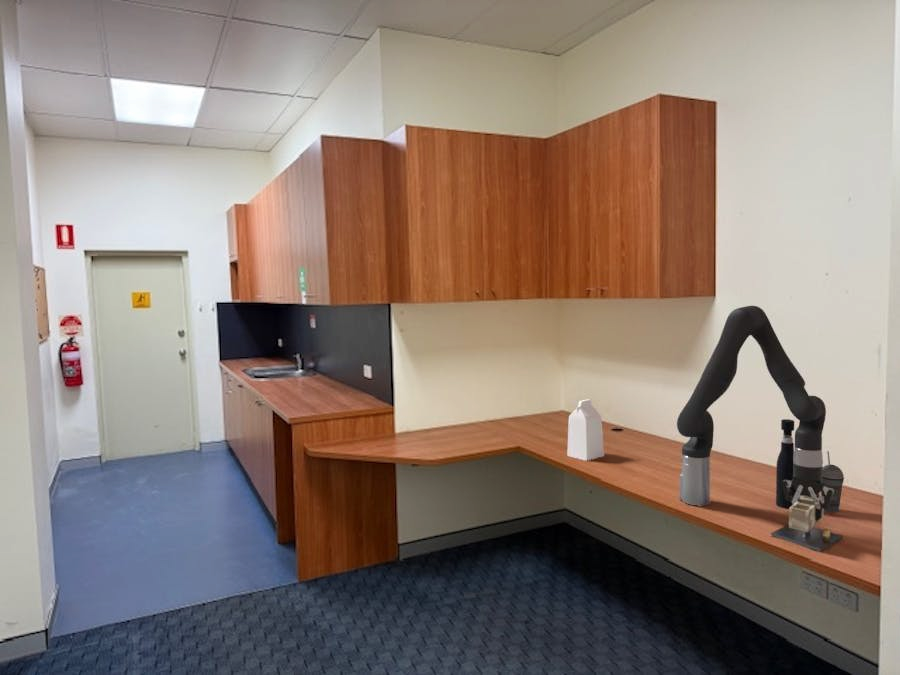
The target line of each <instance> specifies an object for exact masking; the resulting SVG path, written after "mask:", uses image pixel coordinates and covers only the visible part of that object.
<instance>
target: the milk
mask: <svg viewBox="0 0 900 675" xmlns="http://www.w3.org/2000/svg"><path fill="white" fill-rule="evenodd" d="M577 405H578V406H577V407H576V408H575V409H574V410H573V411H572V412H571V413H570V414H569V415H568V422H567V423H568V426H567V452H566V453H567V455H566V456H567V457H570V458H575V459H577V458H578V460H581V459H582V460H581V461H585V460H586V461H585V462H588V461H592V460H594V459H598V457H599V458H603V457H604V456H605V449H604V435H603V421H602V416H601V414H600V413H599V412H598V411H597V409H596V408H595V407H594V405H593V404H592V400H591V399H587V398H586V399H584V400H582V399H581V400H579V401H578V404H577ZM591 459H592V460H591ZM587 460H588V461H587Z"/></svg>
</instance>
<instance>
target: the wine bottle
mask: <svg viewBox="0 0 900 675" xmlns="http://www.w3.org/2000/svg"><path fill="white" fill-rule="evenodd" d="M780 422H781V423H780V427H781V430H782V431H783V434H782V435H783V436H782V437H781V439H782V440H781V442H780V444H781V445H780V447H781V448H780V452H779V454H778V456H777V460H776V476H775V477H776V480H775V481H776V485H775V486H776V489H775V490H776V491H775V493H776V494H775V505H776V506H777V507H779V508H783V509H788V510H789V508H790V507H791V506H792V503H791V502H790V501H787V500H786V499H785V495H784V491H783V487H782V481H784V480H785V479H786V480H792V479H793V456H794V448H795V442H794V438H793V437H792V436H793V432H794V431H795V420H794V419H781V420H780ZM790 491H791V495H792V497H794V495H795V493H796V489H795V488H794V486H793V485H792V484H791V487H790Z"/></svg>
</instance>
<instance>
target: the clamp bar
mask: <svg viewBox="0 0 900 675" xmlns="http://www.w3.org/2000/svg"><path fill="white" fill-rule="evenodd" d="M820 497H821V501H822V503H824V496H821V495H820ZM814 498H815V497H814ZM815 509H816V505H815V503H814V501H813V499H812V497H808V496H802V495H801V497H800V499H799V500H798V501H796V502H795V503H794V504H793V505H792V506H791V507H790V508H789V509H788V525H789V528H792V529H797V530H801V531H805V532H809V531H810V530H811V528H812V527H814V526H816V524H817V523H818V522H819V521H820V520H821V519H819V521H816V520H815ZM824 516H825V511H824V508H823V509H822V518H823V517H824Z"/></svg>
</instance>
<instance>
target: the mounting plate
mask: <svg viewBox="0 0 900 675" xmlns="http://www.w3.org/2000/svg"><path fill="white" fill-rule="evenodd" d="M771 535H772V536H771ZM770 536H771V537H773V536H775V537H774V538H776V537H778V538H777V539H779V538H781V539H780V540H782V539H783V541H785V540H787V541H786V542H788V541H789V543H791V542H792V543H791V544H794V543H795V544H794V545H797V544H798V546H801V547H804V548H807V549H810V550H813V551H816V552H820V553H821V552H822V551H824V550H827V549H828V548H830V547H831V546H833V545H835V544H837V543H839V542H841V541H843V540H844V536H843V535H840V534H837V533H834V532H831V530H829V529H820V528H816V527H814V526H813V527H812V528H811V530H810V531H809V532H805V531H801V530H797V529H792V528H789V524H786V525H785V526H782V527H780V528H778V529H776V530H774V531H772V532H770Z"/></svg>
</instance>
